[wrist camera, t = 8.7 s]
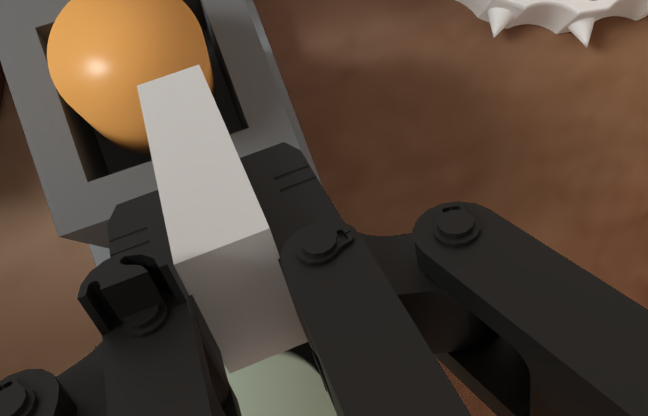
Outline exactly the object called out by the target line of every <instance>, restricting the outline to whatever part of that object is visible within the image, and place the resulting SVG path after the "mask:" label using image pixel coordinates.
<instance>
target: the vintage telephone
mask: <svg viewBox="0 0 648 416" xmlns="http://www.w3.org/2000/svg"><path fill="white" fill-rule="evenodd" d="M4 80H5V78H4V72H3V67H2V64H1V61H0V105H1V100H2V93H3V86H4Z"/></svg>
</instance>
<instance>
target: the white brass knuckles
mask: <svg viewBox="0 0 648 416" xmlns="http://www.w3.org/2000/svg"><path fill="white" fill-rule="evenodd" d="M455 1H458V2H460V3H462V4H463V5H465V6H466V7H468V8H469V9H470V10H471V11H472V12H473V13H474V14H475V15H476V16H477V18H479V19H481V20H484V21H487V22H490V25H491V30H492V34H493V38H495V37H496V36H497V35H498V34H499V33H500V32H501V31H502V30H503V29H504V28H506V29H508V28H511V27H513V26H517V25H522V24H533V25H538V26H542V27H545V28H547V29H549V30H551V31H552V32H554V33H555V34H560V33H566V32H572V33H573V34H574V35H575V36H576V37H577V38H578V39H579V40H580V41H581V42H582V43H583V44H584V45H585V46H586V47H588V43H589V39H590V36H591V32H592V29H593V25H594V22H595V21H597V20H599V19H601V18H604V17H609V16H621V17H626V18H630V19H632V20H635V21H637V20H640V19H642V18H644V17H646V16H647V15H648V0H595V1H591V0H455Z"/></svg>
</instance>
